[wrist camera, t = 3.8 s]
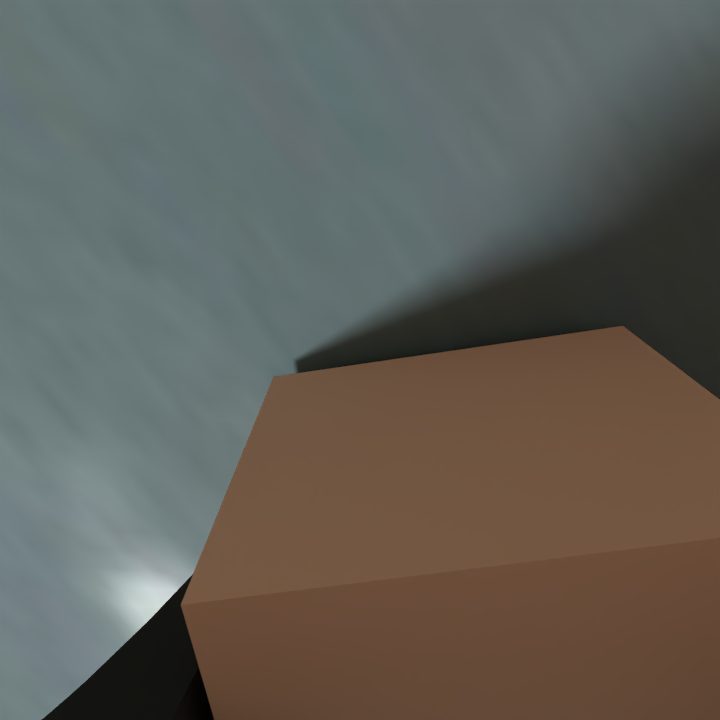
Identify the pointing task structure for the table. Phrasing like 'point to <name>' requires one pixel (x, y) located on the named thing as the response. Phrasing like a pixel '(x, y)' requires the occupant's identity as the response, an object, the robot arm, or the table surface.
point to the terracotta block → (470, 541)
